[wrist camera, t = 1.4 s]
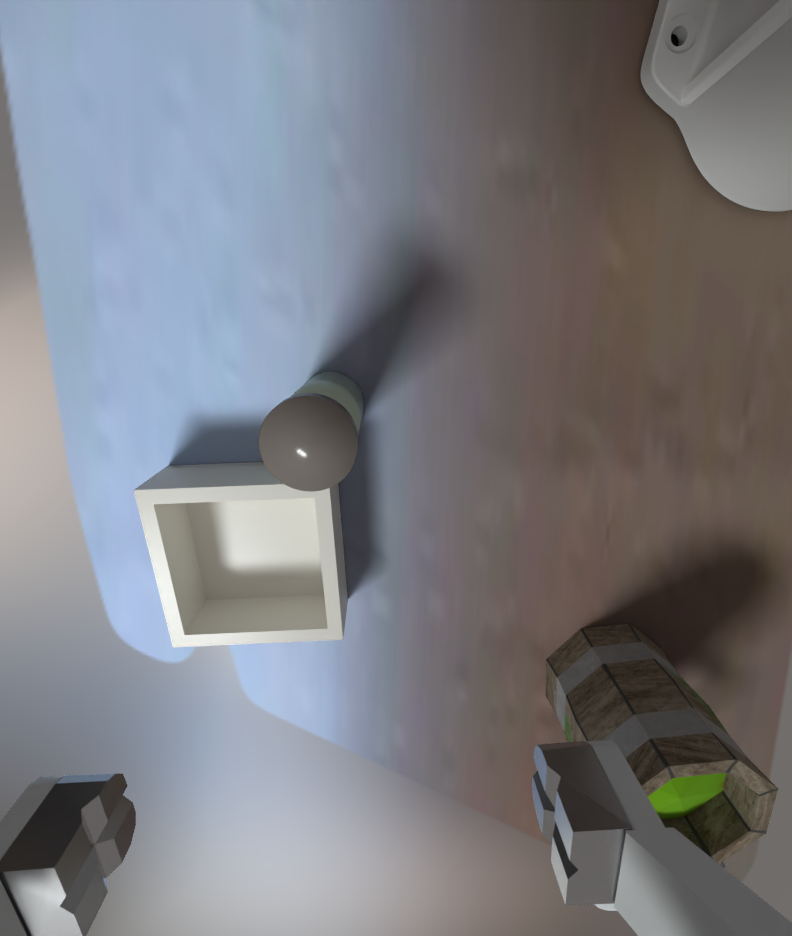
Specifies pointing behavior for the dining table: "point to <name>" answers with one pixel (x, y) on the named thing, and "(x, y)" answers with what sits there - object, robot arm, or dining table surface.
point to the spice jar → (314, 433)
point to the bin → (244, 555)
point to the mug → (660, 736)
